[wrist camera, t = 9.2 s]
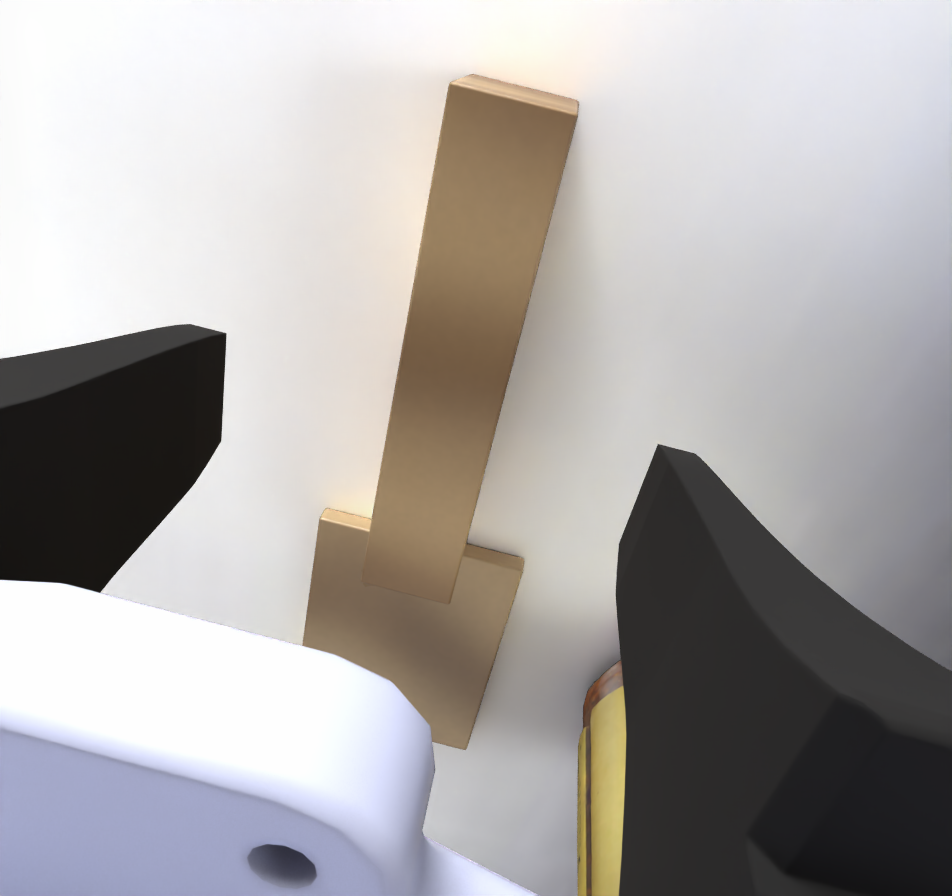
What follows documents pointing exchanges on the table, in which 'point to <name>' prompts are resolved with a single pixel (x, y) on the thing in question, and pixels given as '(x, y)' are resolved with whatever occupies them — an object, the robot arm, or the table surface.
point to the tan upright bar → (448, 417)
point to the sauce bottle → (601, 786)
